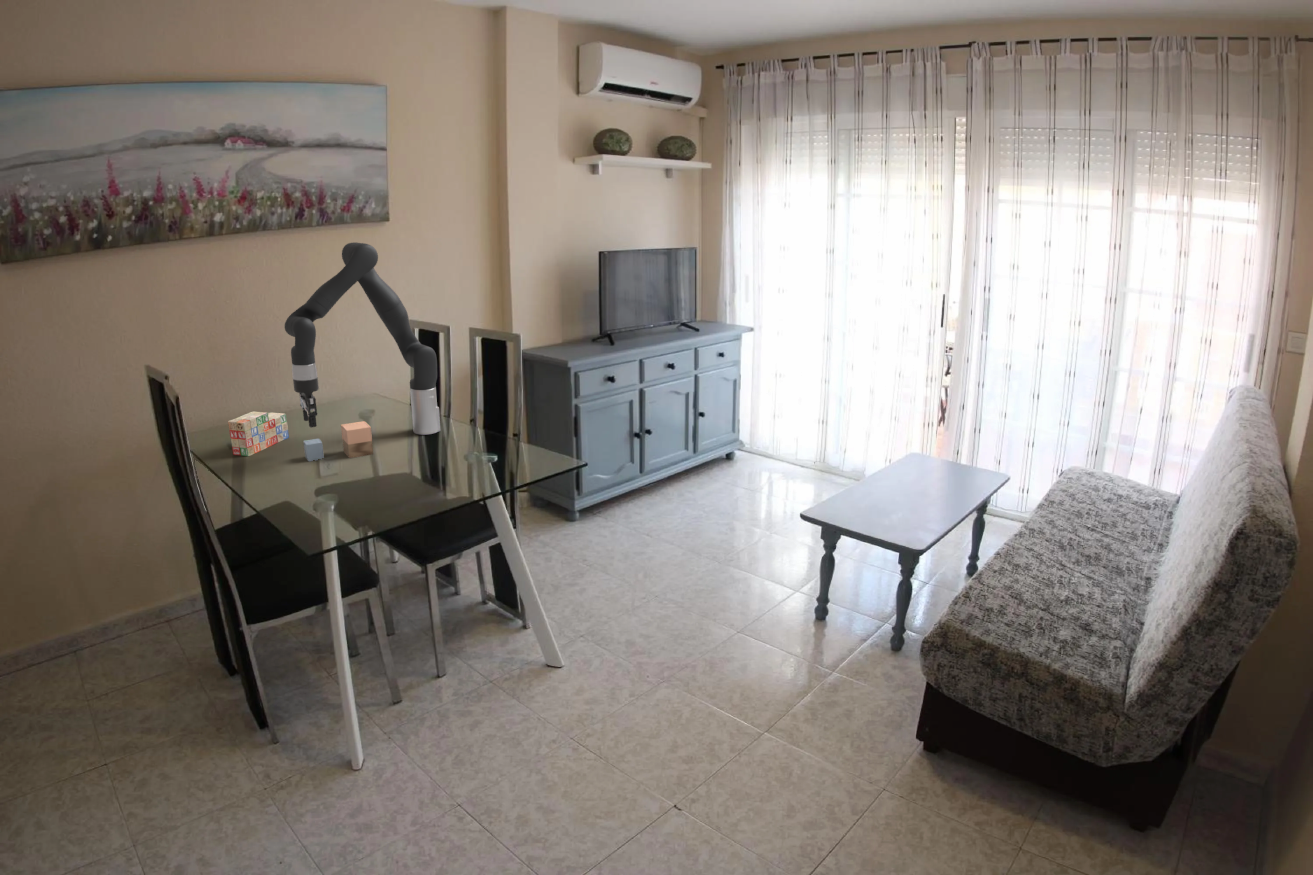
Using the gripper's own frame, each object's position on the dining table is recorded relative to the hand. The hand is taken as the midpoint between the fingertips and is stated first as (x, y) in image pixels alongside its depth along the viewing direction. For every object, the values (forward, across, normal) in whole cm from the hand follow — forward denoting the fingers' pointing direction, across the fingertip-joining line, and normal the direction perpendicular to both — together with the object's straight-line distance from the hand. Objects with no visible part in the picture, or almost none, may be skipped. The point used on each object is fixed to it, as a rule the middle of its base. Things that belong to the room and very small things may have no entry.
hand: (310, 423), depth 271 cm
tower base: (+12, -2, -14) cm, 19 cm away
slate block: (+12, 0, 0) cm, 12 cm away
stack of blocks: (+13, +22, +13) cm, 29 cm away
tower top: (+7, -2, -14) cm, 16 cm away
